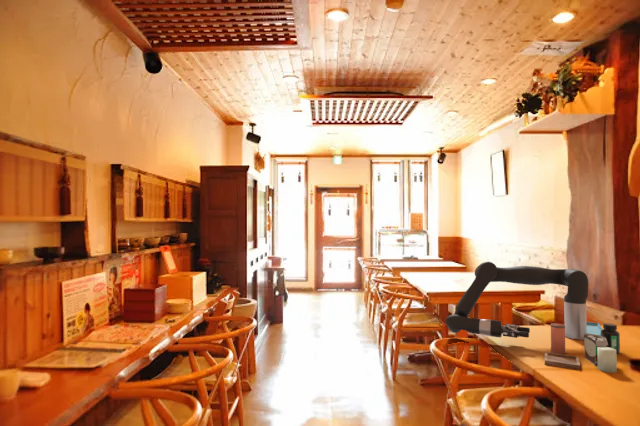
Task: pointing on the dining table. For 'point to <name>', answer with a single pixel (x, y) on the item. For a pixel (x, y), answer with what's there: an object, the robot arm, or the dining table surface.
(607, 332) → the supplement bottle
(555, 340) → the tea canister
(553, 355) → the tray
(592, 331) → the shallow long dish
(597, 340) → the food container
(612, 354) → the sage tin
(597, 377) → the dining table surface
